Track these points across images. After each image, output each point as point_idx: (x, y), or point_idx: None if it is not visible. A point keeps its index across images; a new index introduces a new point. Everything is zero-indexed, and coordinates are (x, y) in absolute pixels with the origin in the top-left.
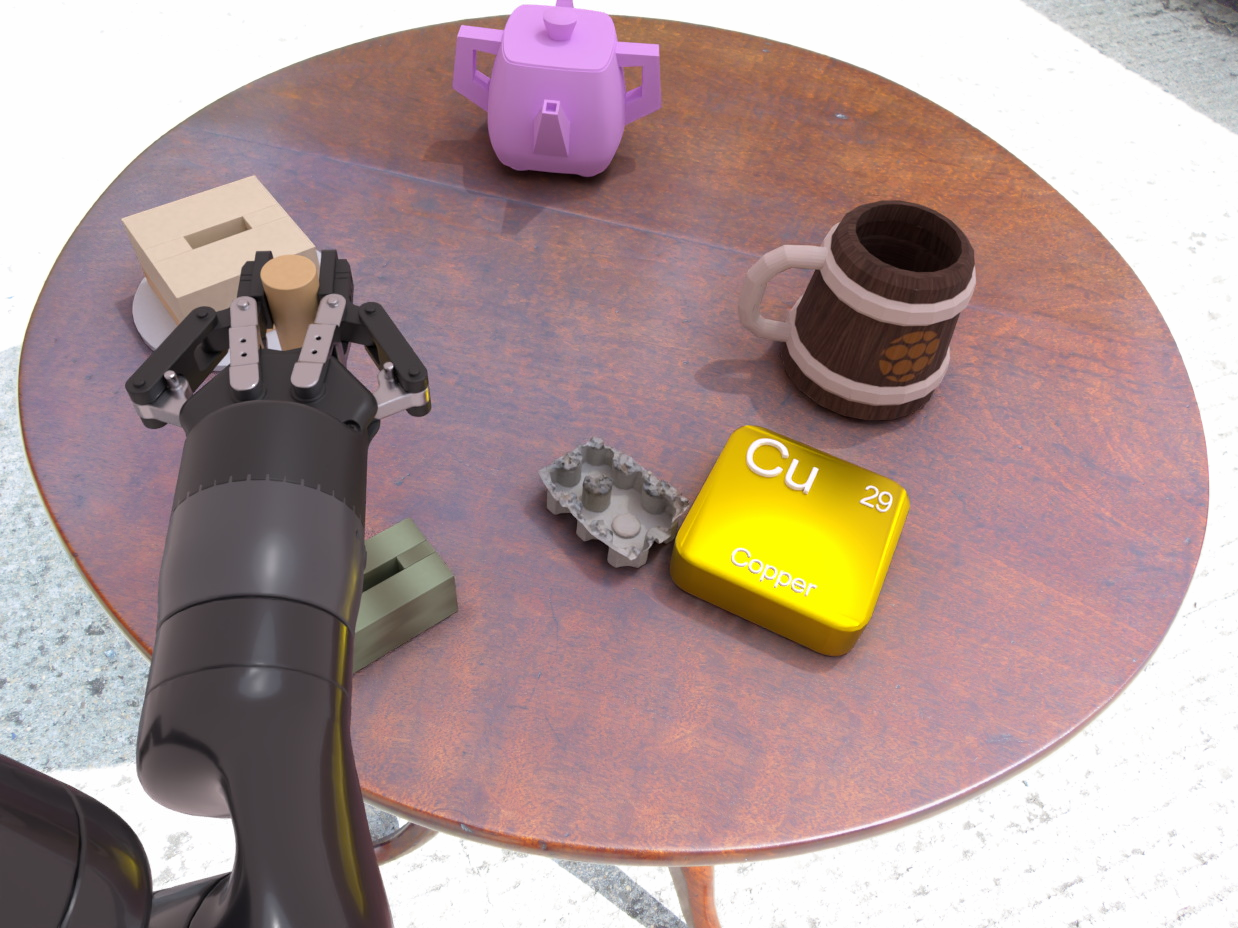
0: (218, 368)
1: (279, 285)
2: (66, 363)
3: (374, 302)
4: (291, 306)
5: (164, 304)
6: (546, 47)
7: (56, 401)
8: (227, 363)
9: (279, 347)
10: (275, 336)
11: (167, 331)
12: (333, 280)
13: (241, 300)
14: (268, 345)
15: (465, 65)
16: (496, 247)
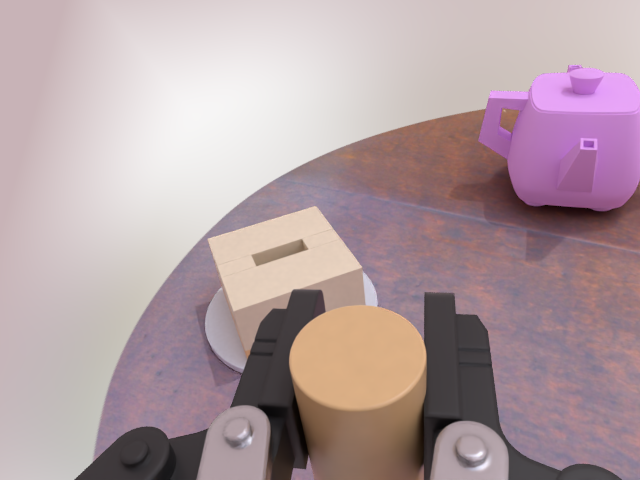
0: None
1: (332, 393)
2: (146, 357)
3: (599, 468)
4: (355, 446)
5: (230, 311)
6: (573, 99)
7: (127, 394)
8: None
9: None
10: None
11: (228, 335)
12: (458, 372)
13: (235, 421)
14: None
15: (492, 121)
16: (522, 272)
